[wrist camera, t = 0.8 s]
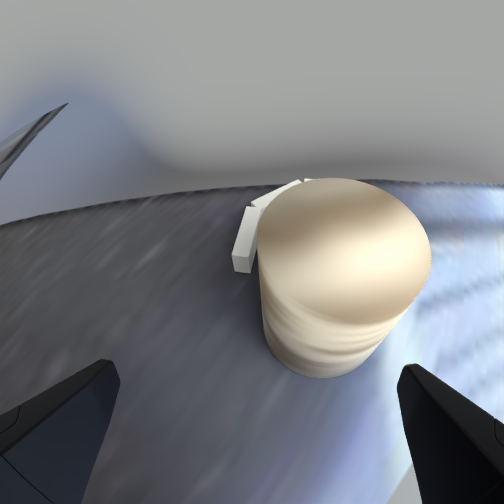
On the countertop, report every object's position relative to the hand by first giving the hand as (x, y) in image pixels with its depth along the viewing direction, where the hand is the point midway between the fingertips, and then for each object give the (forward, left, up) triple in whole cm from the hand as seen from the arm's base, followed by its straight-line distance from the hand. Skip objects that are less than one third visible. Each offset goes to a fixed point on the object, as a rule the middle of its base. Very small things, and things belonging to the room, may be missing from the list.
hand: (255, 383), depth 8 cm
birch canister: (+6, -7, -14) cm, 17 cm away
